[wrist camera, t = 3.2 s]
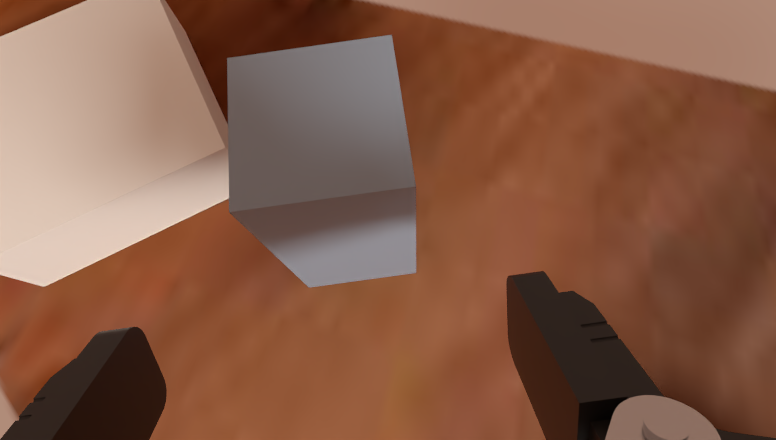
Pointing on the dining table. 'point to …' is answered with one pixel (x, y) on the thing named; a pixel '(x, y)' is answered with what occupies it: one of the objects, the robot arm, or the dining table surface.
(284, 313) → the dining table surface
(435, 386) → the dining table surface
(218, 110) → the base
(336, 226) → the block
